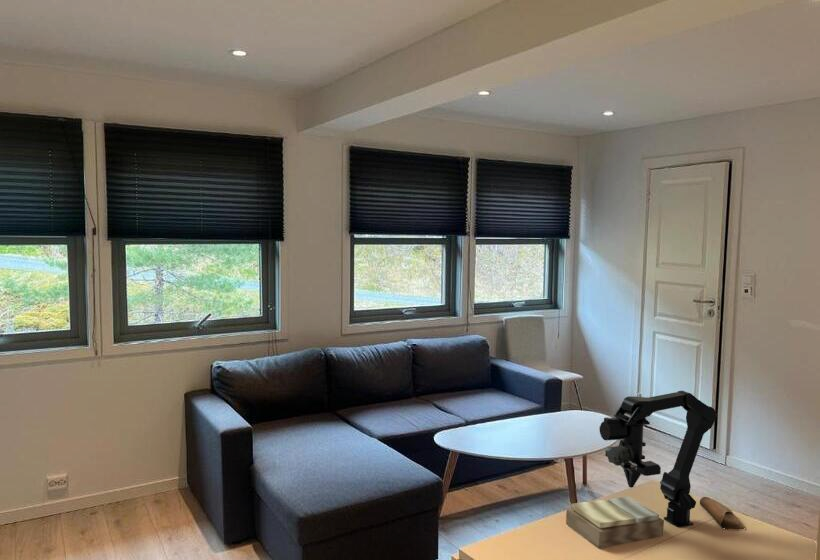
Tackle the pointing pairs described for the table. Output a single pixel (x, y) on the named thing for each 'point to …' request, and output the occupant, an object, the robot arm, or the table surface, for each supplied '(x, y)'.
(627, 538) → the floor base
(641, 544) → the table surface
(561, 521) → the table surface
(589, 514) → the pale yellow square slab
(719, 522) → the sunglasses case
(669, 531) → the table surface
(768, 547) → the table surface
